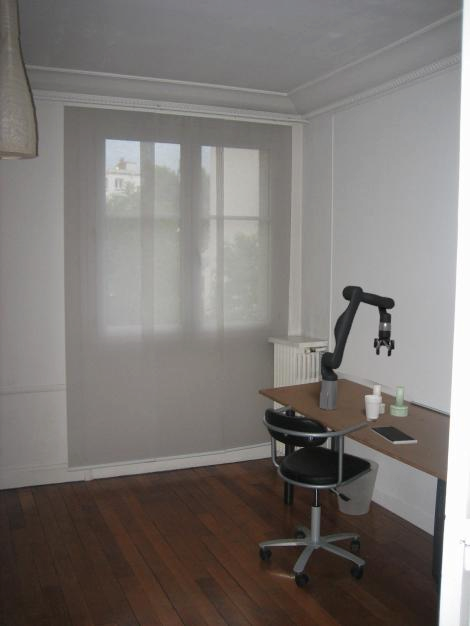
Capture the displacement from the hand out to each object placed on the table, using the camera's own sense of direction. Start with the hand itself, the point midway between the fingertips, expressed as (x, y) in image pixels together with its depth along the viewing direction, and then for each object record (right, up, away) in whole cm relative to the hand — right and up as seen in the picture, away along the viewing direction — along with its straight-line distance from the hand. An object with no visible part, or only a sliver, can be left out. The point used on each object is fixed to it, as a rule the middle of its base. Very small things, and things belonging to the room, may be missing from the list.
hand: (383, 355), depth 407 cm
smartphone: (-12, -37, -73) cm, 83 cm away
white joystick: (-12, -32, -31) cm, 46 cm away
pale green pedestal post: (0, -33, -36) cm, 49 cm away
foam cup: (-16, -33, -44) cm, 57 cm away
